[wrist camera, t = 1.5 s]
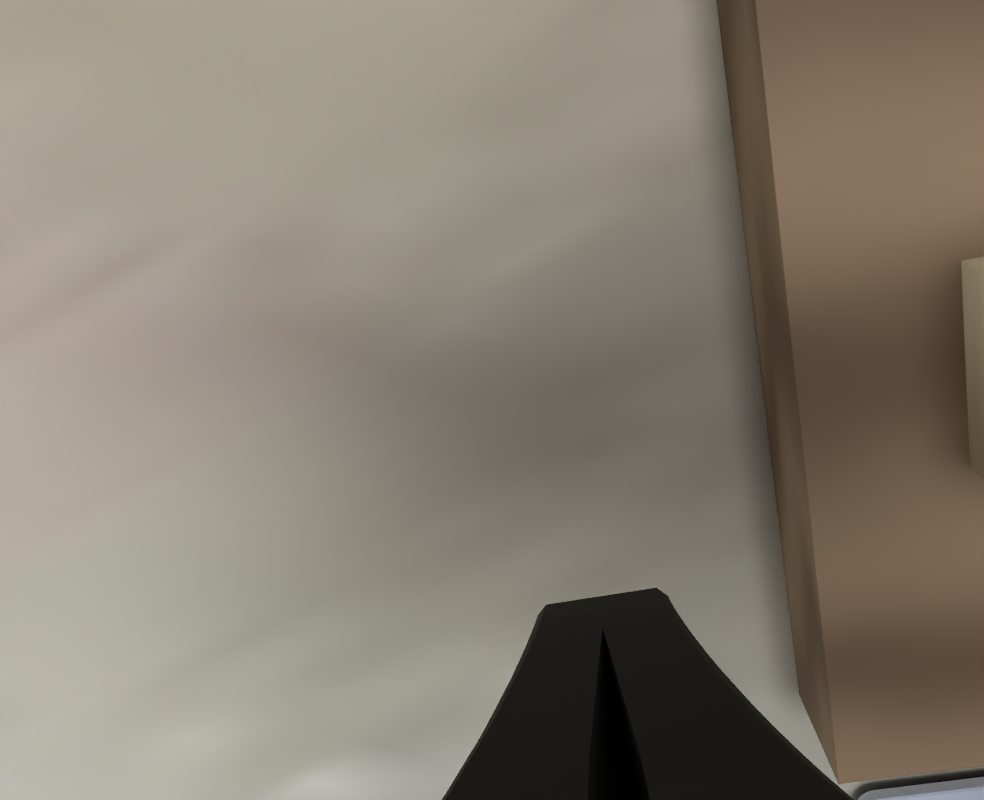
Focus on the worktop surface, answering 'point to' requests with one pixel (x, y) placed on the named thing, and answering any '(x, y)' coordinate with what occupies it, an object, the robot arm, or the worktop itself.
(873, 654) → the trap deck
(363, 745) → the worktop surface
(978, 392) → the block
